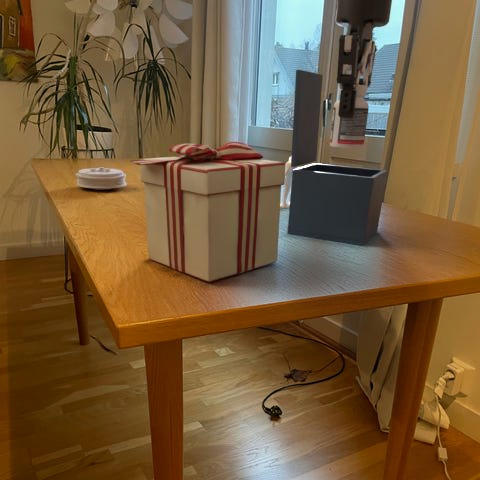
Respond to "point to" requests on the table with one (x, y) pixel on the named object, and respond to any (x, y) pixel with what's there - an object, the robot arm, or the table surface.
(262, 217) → the gift box
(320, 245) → the table surface
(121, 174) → the lid
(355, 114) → the pill bottle
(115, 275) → the table surface
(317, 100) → the chest lid
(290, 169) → the figurine
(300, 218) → the chest
